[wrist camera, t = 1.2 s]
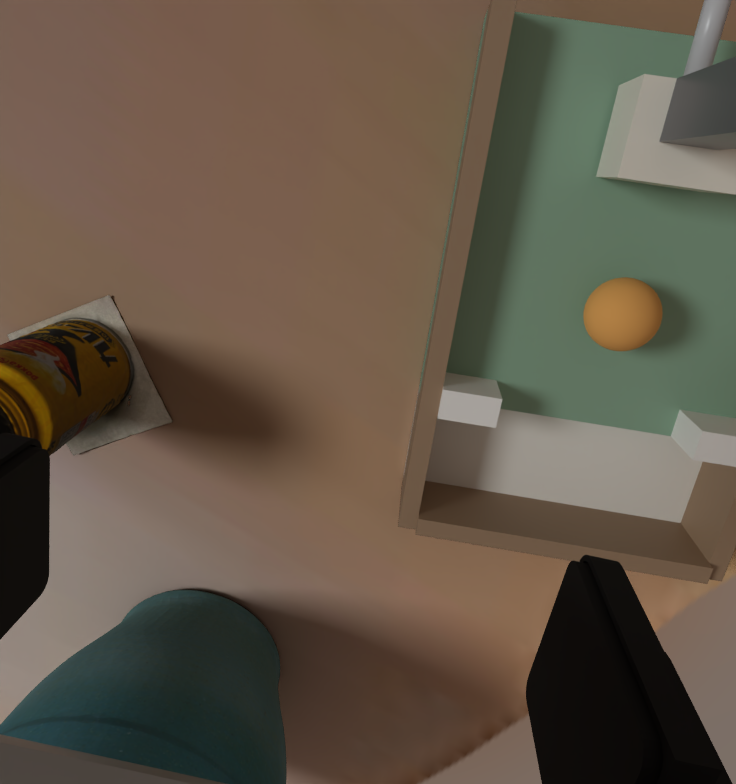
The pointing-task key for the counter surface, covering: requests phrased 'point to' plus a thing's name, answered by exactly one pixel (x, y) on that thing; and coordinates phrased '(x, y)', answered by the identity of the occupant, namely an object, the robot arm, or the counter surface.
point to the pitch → (575, 323)
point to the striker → (679, 120)
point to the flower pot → (169, 693)
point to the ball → (622, 314)
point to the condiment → (77, 381)
